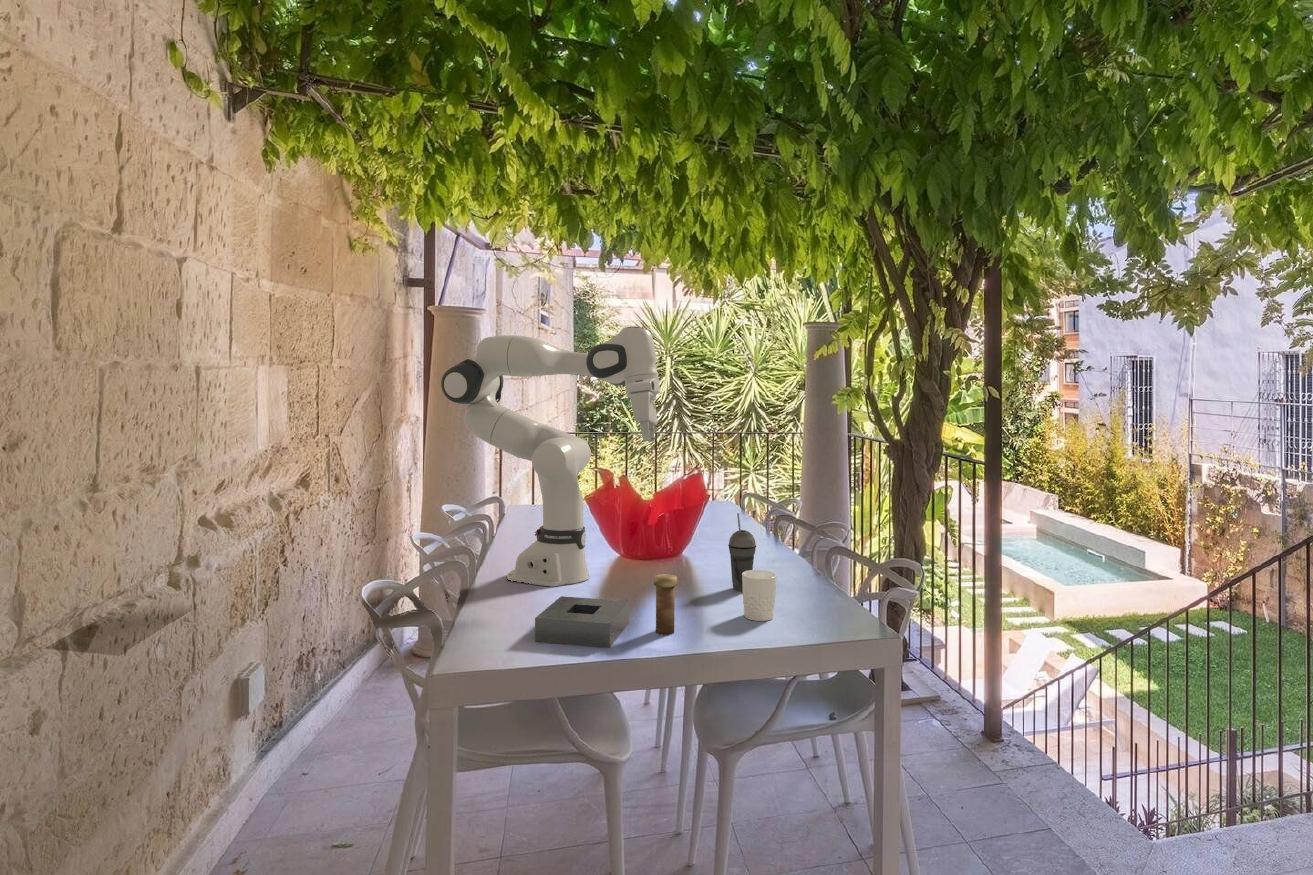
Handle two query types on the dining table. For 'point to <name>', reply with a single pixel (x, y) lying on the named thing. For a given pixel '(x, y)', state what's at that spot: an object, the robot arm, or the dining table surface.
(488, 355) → the robot arm
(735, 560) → the beverage cup
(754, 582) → the white cup
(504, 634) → the dining table surface
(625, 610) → the hitch block
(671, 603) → the brass pin
